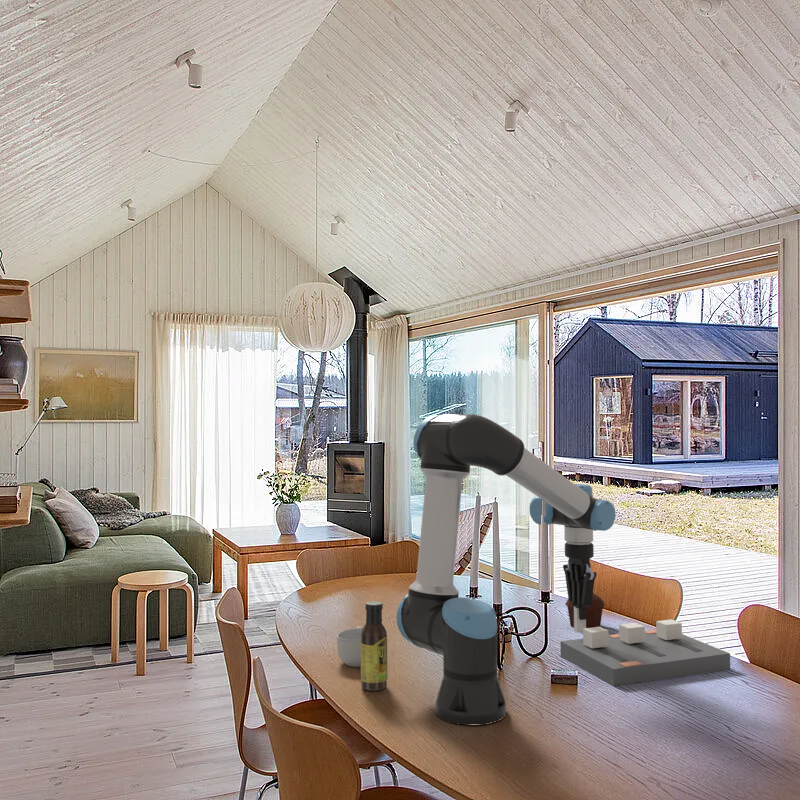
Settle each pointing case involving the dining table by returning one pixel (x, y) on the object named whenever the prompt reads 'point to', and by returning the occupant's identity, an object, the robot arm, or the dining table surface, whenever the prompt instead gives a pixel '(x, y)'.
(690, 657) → the switch panel
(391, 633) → the dining table surface
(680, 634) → the switch
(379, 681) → the sauce bottle
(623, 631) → the switch middle
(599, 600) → the muffin
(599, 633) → the switch
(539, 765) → the dining table surface
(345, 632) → the teacup
